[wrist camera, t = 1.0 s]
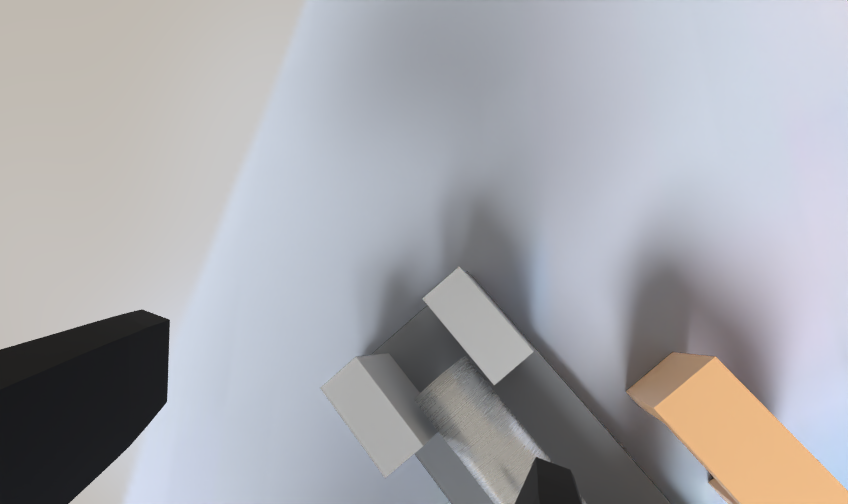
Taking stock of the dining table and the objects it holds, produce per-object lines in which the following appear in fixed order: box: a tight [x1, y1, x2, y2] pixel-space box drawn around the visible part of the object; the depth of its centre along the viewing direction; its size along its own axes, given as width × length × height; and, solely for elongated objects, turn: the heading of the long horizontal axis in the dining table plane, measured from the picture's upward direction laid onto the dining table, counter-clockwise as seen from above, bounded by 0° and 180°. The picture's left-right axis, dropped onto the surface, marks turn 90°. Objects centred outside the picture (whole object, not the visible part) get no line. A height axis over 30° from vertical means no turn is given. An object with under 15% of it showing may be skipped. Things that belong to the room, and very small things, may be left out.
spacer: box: [626, 352, 848, 504], centre depth 19 cm, size 3×5×6 cm, turn 41°
